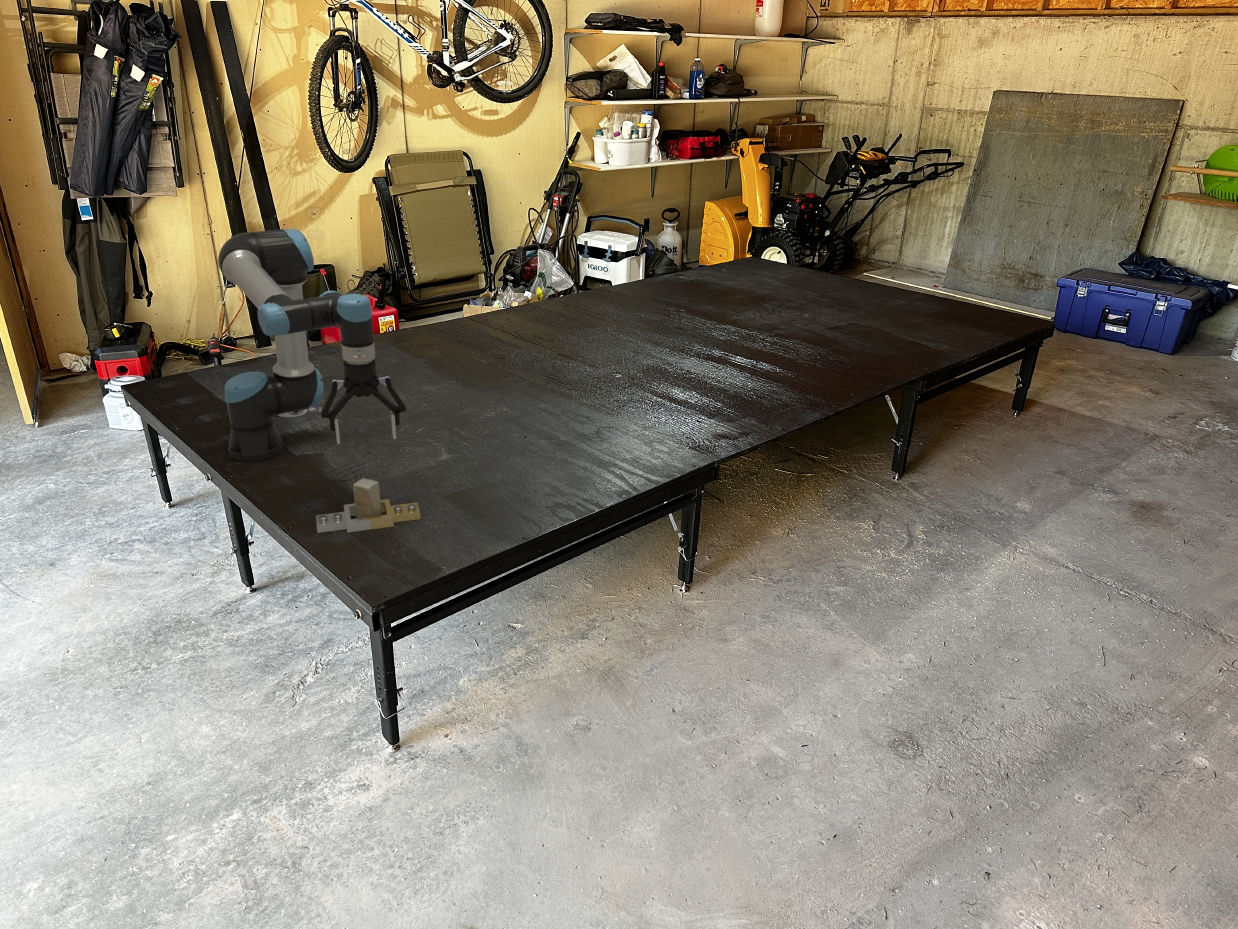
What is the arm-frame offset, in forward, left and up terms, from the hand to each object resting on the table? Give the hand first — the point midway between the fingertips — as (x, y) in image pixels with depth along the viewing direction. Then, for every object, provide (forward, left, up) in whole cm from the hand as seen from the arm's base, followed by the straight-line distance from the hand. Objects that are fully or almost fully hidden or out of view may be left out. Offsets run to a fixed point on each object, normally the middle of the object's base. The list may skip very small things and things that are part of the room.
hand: (366, 439), depth 211 cm
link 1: (-8, -5, -21) cm, 23 cm away
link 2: (+5, -5, -21) cm, 22 cm away
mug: (-21, +74, -21) cm, 80 cm away
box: (-2, -5, -21) cm, 22 cm away
